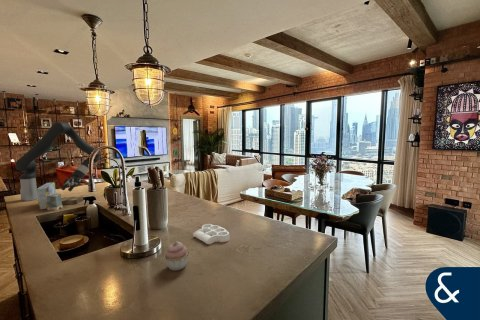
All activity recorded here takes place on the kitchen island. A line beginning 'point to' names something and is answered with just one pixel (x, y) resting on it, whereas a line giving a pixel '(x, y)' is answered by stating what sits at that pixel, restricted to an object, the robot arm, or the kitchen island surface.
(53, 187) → the snack box
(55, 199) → the pallet crate
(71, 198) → the dock
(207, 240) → the white paint palette
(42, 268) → the kitchen island surface
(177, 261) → the cupcake
